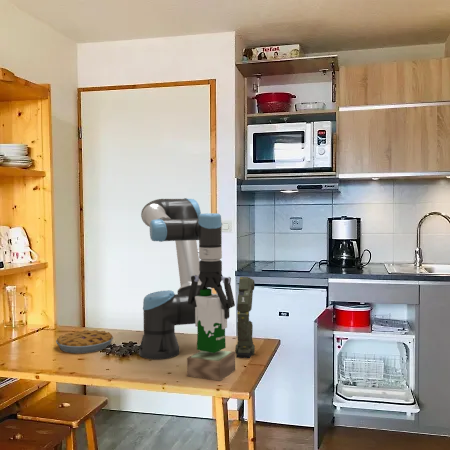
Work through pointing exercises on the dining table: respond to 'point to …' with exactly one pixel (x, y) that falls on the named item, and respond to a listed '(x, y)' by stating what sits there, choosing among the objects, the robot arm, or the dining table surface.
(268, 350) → the dining table surface
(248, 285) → the mechanical leg
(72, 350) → the pie
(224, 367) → the step block
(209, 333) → the soya milk
